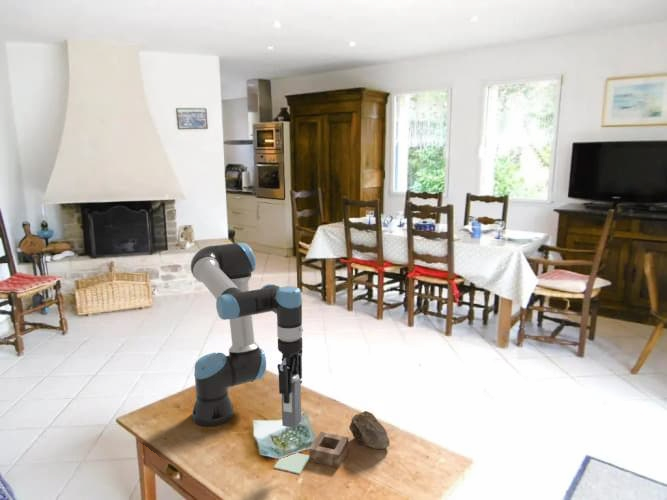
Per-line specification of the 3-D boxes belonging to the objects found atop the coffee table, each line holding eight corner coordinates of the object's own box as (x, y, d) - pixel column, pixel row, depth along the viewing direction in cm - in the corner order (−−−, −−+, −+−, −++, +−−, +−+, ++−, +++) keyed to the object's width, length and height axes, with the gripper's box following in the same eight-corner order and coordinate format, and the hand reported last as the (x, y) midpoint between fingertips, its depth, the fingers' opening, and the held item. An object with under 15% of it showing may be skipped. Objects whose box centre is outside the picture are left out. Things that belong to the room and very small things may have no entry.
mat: (273, 468, 150) (273, 466, 150) (285, 451, 159) (285, 450, 159) (299, 474, 147) (299, 473, 147) (310, 457, 156) (310, 455, 156)
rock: (404, 426, 160) (370, 395, 162) (397, 441, 154) (362, 410, 156) (381, 445, 168) (349, 416, 170) (373, 460, 162) (340, 430, 164)
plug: (281, 426, 149) (280, 379, 145) (288, 417, 153) (286, 372, 150) (295, 428, 147) (294, 381, 144) (302, 420, 152) (301, 374, 148)
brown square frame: (309, 461, 154) (309, 448, 153) (320, 443, 163) (320, 431, 162) (338, 467, 150) (338, 455, 150) (348, 449, 160) (348, 437, 159)
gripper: (289, 350, 135) (290, 424, 140) (312, 328, 151) (312, 395, 156) (265, 346, 137) (268, 419, 142) (290, 326, 154) (292, 392, 158)
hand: (291, 406), depth 149 cm, fingers closed on plug, 4 cm apart
